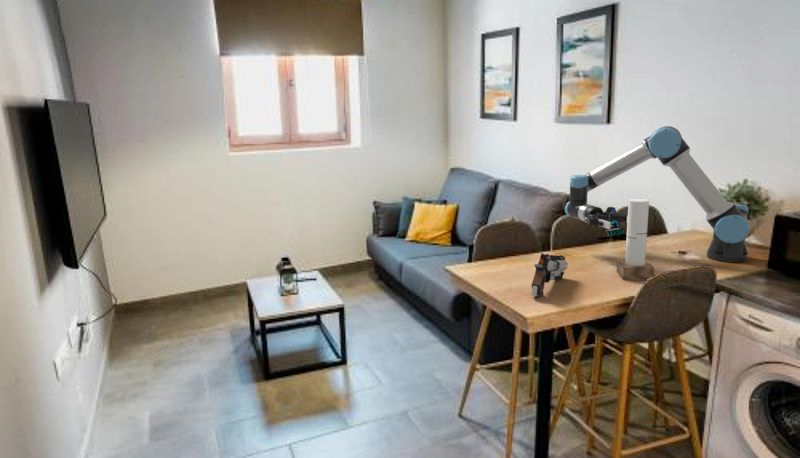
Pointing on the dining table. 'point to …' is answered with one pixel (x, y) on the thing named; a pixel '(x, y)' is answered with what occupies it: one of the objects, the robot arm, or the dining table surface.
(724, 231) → the robot arm
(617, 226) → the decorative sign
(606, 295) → the dining table surface
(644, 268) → the base block
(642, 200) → the cylindrical container
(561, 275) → the toy gun
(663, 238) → the dining table surface
